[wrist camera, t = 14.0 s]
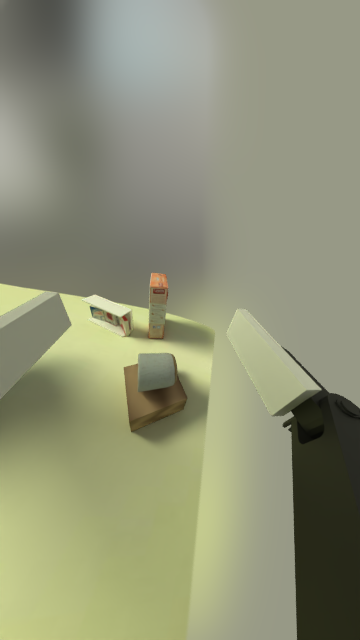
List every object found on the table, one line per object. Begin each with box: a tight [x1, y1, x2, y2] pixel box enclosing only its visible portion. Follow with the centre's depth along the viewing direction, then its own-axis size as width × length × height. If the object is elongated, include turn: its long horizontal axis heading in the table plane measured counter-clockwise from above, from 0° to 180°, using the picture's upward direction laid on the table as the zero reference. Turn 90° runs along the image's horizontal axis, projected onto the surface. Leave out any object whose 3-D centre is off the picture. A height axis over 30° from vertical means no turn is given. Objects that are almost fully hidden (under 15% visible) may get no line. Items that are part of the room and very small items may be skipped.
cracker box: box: [149, 273, 168, 338], centre depth 50 cm, size 14×6×21 cm, turn 8°
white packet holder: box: [82, 295, 133, 337], centre depth 51 cm, size 20×6×9 cm, turn 65°
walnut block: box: [124, 364, 187, 432], centre depth 33 cm, size 12×12×6 cm
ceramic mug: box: [138, 353, 177, 392], centre depth 30 cm, size 11×8×8 cm
